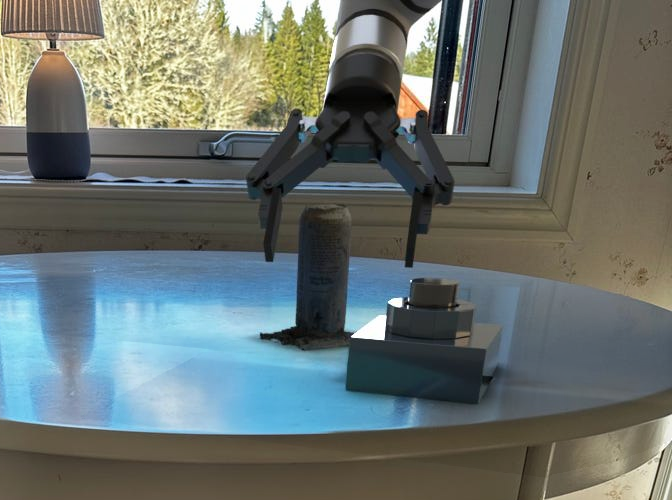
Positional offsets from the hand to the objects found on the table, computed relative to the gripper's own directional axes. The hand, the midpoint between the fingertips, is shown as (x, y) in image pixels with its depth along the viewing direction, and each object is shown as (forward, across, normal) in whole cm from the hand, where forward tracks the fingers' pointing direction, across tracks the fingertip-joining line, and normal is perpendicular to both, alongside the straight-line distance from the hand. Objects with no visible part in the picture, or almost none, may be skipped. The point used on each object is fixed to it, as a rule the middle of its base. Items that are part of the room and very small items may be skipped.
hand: (337, 255), depth 92 cm
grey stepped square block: (+20, -9, +10) cm, 24 cm away
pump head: (+16, -9, +14) cm, 23 cm away
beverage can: (+12, 0, +2) cm, 12 cm away
